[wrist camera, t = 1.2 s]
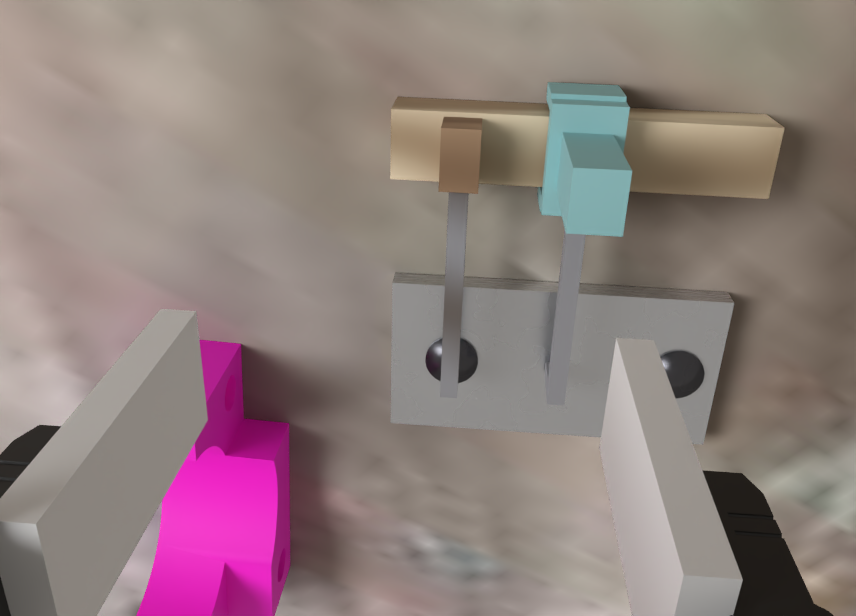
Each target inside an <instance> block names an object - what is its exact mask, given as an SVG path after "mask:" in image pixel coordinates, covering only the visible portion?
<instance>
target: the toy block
mask: <svg viewBox="0 0 856 616" xmlns="http://www.w3.org/2000/svg"><path fill="white" fill-rule="evenodd" d="M199 341H200V350H201V360H202V369H203V379H204V388H205V398H206V407H207V416H208V421H207V422H206V424H205V426H204V428H203V429H202V431H201V433H200V435H199V436H198V438H197V440H196V442H195V444H194V445H193V447H192V449H191V451H190V452H189V454H188V456H187V458H186V459H185V461H184V463H183V465H182V466H181V468H180V470H179V472H178V473H177V475H176V477H175V479H174V480H173V482H172V484H171V486H170V487H169V489H168V491H167V493H166V495H165V496H164V498H163V500H162V515H161V525H160V533H159V539H158V545H157V550H156V555H155V560H154V564H153V568H152V572H151V576H150V579H149V582H148V586H147V589H146V592H145V595H144V598H143V600H142V603H141V606H140V608H139V610H138V613H137V615H136V616H275V613H276V609H277V606H278V603H279V600H280V597H281V594H282V590H283V587H284V584H285V581H286V578H287V575H288V571H289V568H290V473H289V423H283V422H273V421H263V420H253V419H244V410H243V384H242V358H241V344H237V343H227V342H217V341H207V340H199Z"/></svg>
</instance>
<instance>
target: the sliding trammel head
mask: <svg viewBox="0 0 856 616" xmlns="http://www.w3.org/2000/svg"><path fill="white" fill-rule="evenodd" d="M546 99H547V103H548V106H549V110H550V114H549V124H548V134H547V144H546V155H545V165H544V175H543V186H542V187H538V193H537V195H538V202H539V208H540V212H541V214H542V215H552V216H562V218H563V223H564V227H565V231H564V240H563V249H562V258H561V267H560V276H559V285H558V293H557V302H556V311H555V320H554V329H553V338H552V347H551V356H550V362H546V366H545V375H544V377H545V386H546V399H547V404H551V405H564V404H565V396H566V388H567V380H568V372H569V364H570V356H571V348H572V340H573V332H574V324H575V316H576V308H577V300H578V292H579V284H580V276H581V268H582V260H583V252H584V244H585V236H586V235H602V236H620V237H623V231H624V225H625V218H626V211H627V204H628V197H629V191H630V184H631V177H632V169H631V167H630V165H629V163H628V161H627V160H626V158H625V156H624V154H623V153H624V146H625V139H626V131H627V124H628V117H629V110H630V107H629V105H628V104H627V102H626V100H627V96H626V95H625V94H624V92H623V91H622V89H621V88H620V87H619V85H598V84H576V83H554V82H548V87H547V98H546Z"/></svg>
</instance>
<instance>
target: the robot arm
mask: <svg viewBox="0 0 856 616" xmlns="http://www.w3.org/2000/svg"><path fill="white" fill-rule="evenodd" d="M207 421H208V416H207V407H206V398H205V388H204V379H203V369H202V360H201V350H200V341H199V332H198V322H197V313H196V311H186V310H170V309H160V311H159V312H158V313H157V314H156V315H155V316H154V318H153V319H152V320H151V321H150V322H149V324H148V325H147V326H146V327H145V328H144V329H143V331H142V332H141V333H140V334H139V335H138V337H137V338H136V339H135V340H134V341H133V342H132V344H131V345H130V346H129V347H128V348H127V349H126V351H125V352H124V353H123V354H122V355H121V357H120V358H119V359H118V360H117V361H116V362H115V364H114V365H113V366H112V367H111V368H110V370H109V371H108V372H107V373H106V374H105V375H104V377H103V378H102V379H101V380H100V381H99V383H98V384H97V385H96V386H95V387H94V388H93V390H92V391H91V392H90V393H89V394H88V396H87V397H86V398H85V399H84V400H83V401H82V403H81V404H80V405H79V406H78V407H77V408H76V410H75V411H74V412H73V413H72V414H71V416H70V417H69V418H68V419H67V420H66V421H65V423H64V424H63V425H62V426H48V425H39V426H37V427H35V428H34V429H32V430H30V431H29V432H27V433H25V434H24V435H22V436H20V437H19V438H17V439H15V440H14V441H13V442H12V443H11V444H10V445H9V446H8V447H7V448H6V449H5V450H4V451H3V452H2V454H1V455H0V616H97V614H98V612H99V611H100V609H101V607H102V605H103V604H104V602H105V600H106V598H107V597H108V595H109V593H110V591H111V589H112V588H113V586H114V584H115V582H116V581H117V579H118V577H119V575H120V574H121V572H122V570H123V568H124V567H125V565H126V563H127V561H128V560H129V558H130V556H131V554H132V553H133V551H134V549H135V547H136V546H137V544H138V542H139V540H140V538H141V537H142V535H143V533H144V531H145V530H146V528H147V526H148V524H149V523H150V521H151V519H152V517H153V516H154V514H155V512H156V510H157V509H158V507H159V505H160V503H161V502H162V500H163V498H164V496H165V495H166V493H167V491H168V489H169V487H170V486H171V484H172V482H173V480H174V479H175V477H176V475H177V473H178V472H179V470H180V468H181V466H182V465H183V463H184V461H185V459H186V458H187V456H188V454H189V452H190V451H191V449H192V447H193V445H194V444H195V442H196V440H197V438H198V436H199V435H200V433H201V431H202V429H203V428H204V426H205V424H206V422H207ZM599 448H600V453H601V459H602V464H603V469H604V474H605V479H606V484H607V489H608V495H609V500H610V505H611V510H612V515H613V520H614V525H615V531H616V536H617V541H618V546H619V551H620V556H621V562H622V567H623V572H624V577H625V582H626V587H627V592H628V598H629V603H630V608H631V613H632V616H833V615H832V614H831V613H830V612H829V611H827V610H825V609H823V608H821V607H819V606H817V605H815V604H814V603H813V601H812V598H811V596H810V594H809V592H808V590H807V588H806V585H805V583H804V581H803V579H802V577H801V575H800V572H799V570H798V568H797V566H796V564H795V562H794V559H793V557H792V555H791V553H790V551H789V549H788V546H787V544H786V542H785V540H784V539H783V538H782V533H781V531H780V529H779V527H778V525H777V523H776V520H773V514H772V512H771V510H770V507H769V505H768V503H767V501H766V499H765V497H764V494H763V493H762V492H761V491H760V490H759V489H758V488H757V487H756V486H755V485H754V484H753V483H752V482H750V481H749V480H748V479H747V478H746V477H745V476H744V475H743V474H742V473H730V472H716V471H702V468H701V466H700V463H699V460H698V458H697V455H696V452H695V449H694V447H693V444H692V441H691V439H690V436H689V433H688V431H687V428H686V425H685V422H684V420H683V417H682V414H681V412H680V409H679V406H678V404H677V401H676V398H675V396H674V393H673V390H672V387H671V385H670V382H669V379H668V377H667V374H666V371H665V369H664V366H663V363H662V361H661V358H660V355H659V352H658V350H657V347H656V344H655V342H654V340H644V339H628V338H616V343H615V349H614V356H613V362H612V369H611V375H610V382H609V388H608V395H607V401H606V408H605V414H604V421H603V427H602V434H601V440H600V447H599Z"/></svg>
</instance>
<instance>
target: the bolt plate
mask: <svg viewBox="0 0 856 616" xmlns="http://www.w3.org/2000/svg"><path fill="white" fill-rule="evenodd" d="M558 285H559V282H545V281H528V280H511V279H494V278H477V277H464V284H463V302H462V320H461V338H460V364H459V378H458V391H457V398H447V397H440V383H441V361H442V338H443V316H444V293H445V276H443V275H426V274H409V273H395V276H394V279H393V283H392V361H391V423H400V424H414V425H429V426H443V427H458V428H472V429H487V430H501V431H516V432H530V433H545V434H559V435H574V436H588V437H601V434H602V427H603V421H604V414H605V408H606V401H607V395H608V388H609V382H610V375H611V369H612V362H613V356H614V349H615V343H616V338H628V339H644V340H654V342H655V344H656V347H657V350H658V352H659V355H660V358H661V361H662V363H663V366H664V369H665V371H666V374H667V377H668V379H669V382H670V385H671V387H672V390H673V393H674V396H675V398H676V401H677V404H678V406H679V409H680V412H681V414H682V417H683V420H684V422H685V425H686V428H687V431H688V433H689V436H690V439H691V441H692V444H703V443H704V438H705V434H706V429H707V425H708V420H709V416H710V411H711V407H712V402H713V397H714V393H715V388H716V384H717V379H718V375H719V370H720V366H721V361H722V357H723V352H724V348H725V343H726V339H727V334H728V330H729V325H730V321H731V316H732V312H733V307H734V302H733V300H732V298H731V297H730V295H729V294H728V292H715V291H698V290H681V289H664V288H647V287H630V286H613V285H596V284H579V292H578V300H577V308H576V316H575V324H574V332H573V340H572V348H571V356H570V364H569V372H568V380H567V388H566V396H565V404H564V405H551V404H547V399H546V386H545V377H544V375H545V366H546V362H550V356H551V347H552V338H553V329H554V320H555V311H556V302H557V293H558Z"/></svg>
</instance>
